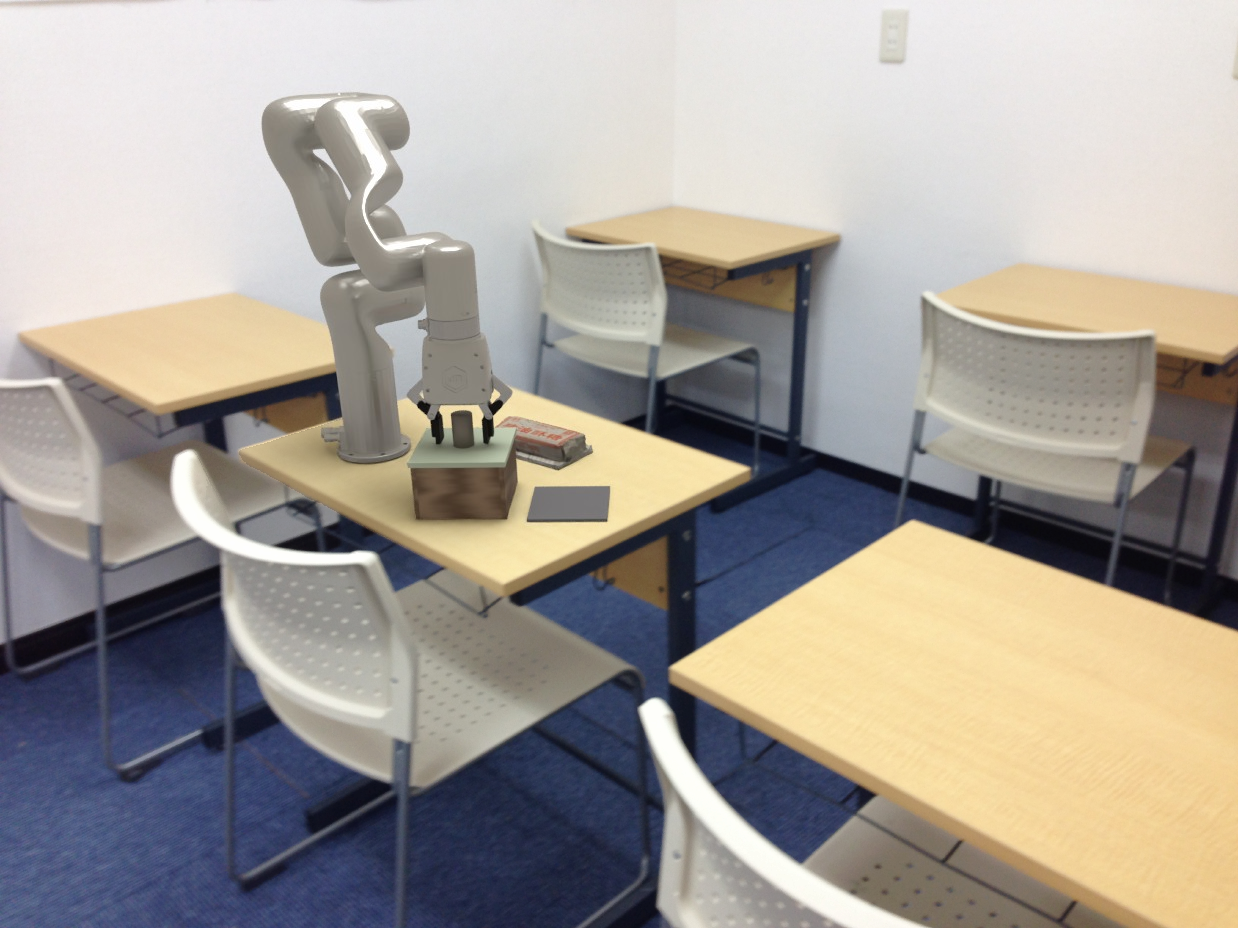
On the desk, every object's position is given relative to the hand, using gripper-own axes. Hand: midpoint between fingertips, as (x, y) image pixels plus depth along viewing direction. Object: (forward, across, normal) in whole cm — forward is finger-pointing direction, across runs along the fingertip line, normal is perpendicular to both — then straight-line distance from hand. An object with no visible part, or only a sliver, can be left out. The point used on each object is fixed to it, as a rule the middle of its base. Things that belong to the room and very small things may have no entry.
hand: (463, 440), depth 159 cm
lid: (+3, 0, 0) cm, 3 cm away
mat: (+10, +16, -2) cm, 19 cm away
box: (+10, 0, 0) cm, 10 cm away
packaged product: (+11, +9, +21) cm, 25 cm away
